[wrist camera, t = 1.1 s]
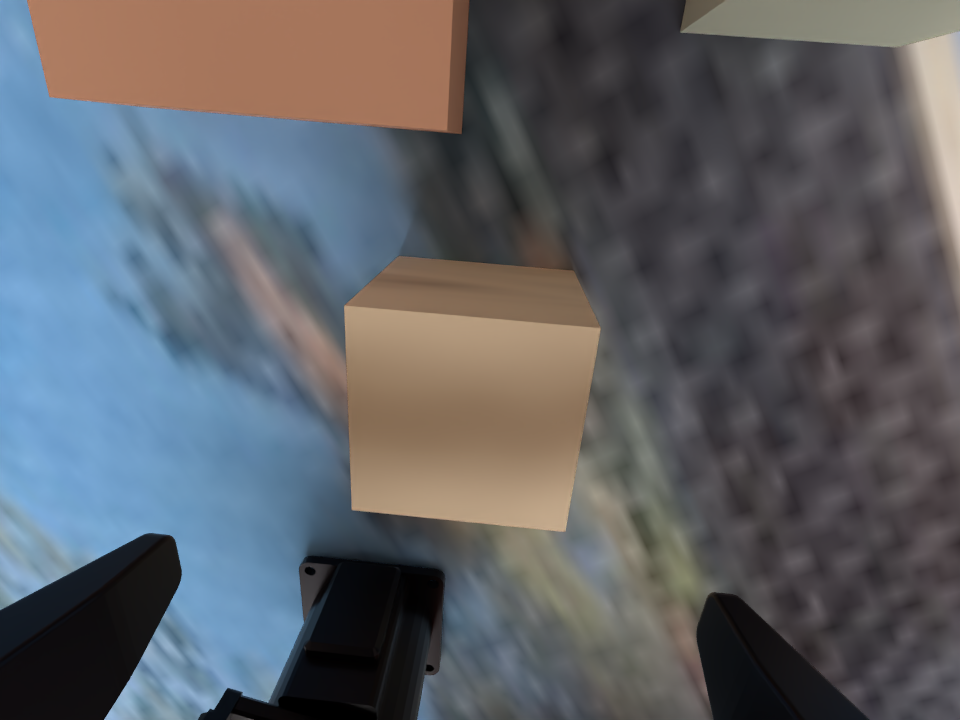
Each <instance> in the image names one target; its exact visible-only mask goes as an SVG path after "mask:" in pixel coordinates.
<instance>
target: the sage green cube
mask: <svg viewBox="0 0 960 720" xmlns="http://www.w3.org/2000/svg"><path fill="white" fill-rule="evenodd" d="M957 31H960V0H686V4H685V9H684V15H683V20H682V25H681V30H680V32H682V33H696V34H710V35H725V36H739V37H754V38H768V39H783V40H797V41H812V42H826V43H841V44H855V45H870V46H884V47H900V46H904V45H908V44H912V43H915V42H919V41H923V40H927V39H931V38H934V37H938V36H942V35H946V34H950V33H954V32H957Z"/></svg>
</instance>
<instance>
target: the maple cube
mask: <svg viewBox="0 0 960 720" xmlns="http://www.w3.org/2000/svg"><path fill="white" fill-rule="evenodd" d="M344 313H345V340H346V367H347V393H348V420H349V447H350V474H351V501H352V510H355V511H365V512H375V513H385V514H395V515H404V516H414V517H424V518H434V519H444V520H453V521H463V522H473V523H483V524H492V525H502V526H512V527H522V528H532V529H541V530H551V531H561V532H565V530H566V524H567V519H568V513H569V507H570V502H571V496H572V490H573V484H574V479H575V473H576V467H577V462H578V456H579V450H580V444H581V439H582V433H583V427H584V422H585V416H586V410H587V404H588V399H589V393H590V387H591V382H592V376H593V370H594V364H595V359H596V353H597V347H598V342H599V336H600V330H601V328H600V325H599V323H598V321H597V319H596V317H595V315H594V313H593V311H592V308H591V306H590V304H589V302H588V300H587V298H586V296H585V294H584V291H583V289H582V287H581V285H580V283H579V281H578V279H577V277H576V274H575V272H574V271H572V270H560V269H548V268H536V267H524V266H512V265H500V264H489V263H477V262H465V261H453V260H441V259H429V258H418V257H406V256H398V257H397V258H396V259H395V260H394V261H392V262H391V263H390V264H389V265H388V266H387V267H386V268H385V269H384V270H383V271H382V272H380V273H379V274H378V275H377V276H376V277H375V278H374V279H373V280H372V281H371V282H369V283H368V284H367V285H366V286H365V287H364V288H363V289H362V290H361V291H360V292H359V293H357V294H356V295H355V296H354V297H353V298H352V299H351V300H350V301H349V302H348V303H347V304H345V305H344Z"/></svg>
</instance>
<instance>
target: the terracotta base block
mask: <svg viewBox="0 0 960 720" xmlns="http://www.w3.org/2000/svg"><path fill="white" fill-rule="evenodd" d="M27 2H28V6H29V11H30V15H31V19H32V23H33V28H34V32H35V36H36V41H37V45H38V49H39V54H40V58H41V62H42V66H43V71H44V75H45V79H46V84H47V88H48V92H49V96H50V97H54V98H63V99H73V100H82V101H92V102H101V103H111V104H120V105H130V106H139V107H149V108H160V109H172V110H184V111H196V112H208V113H219V114H231V115H243V116H255V117H267V118H278V119H290V120H302V121H314V122H325V123H337V124H349V125H361V126H373V127H384V128H396V129H408V130H420V131H432V132H443V133H455V134H462V119H463V102H464V85H465V67H466V50H467V33H468V16H469V0H27Z"/></svg>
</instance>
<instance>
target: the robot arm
mask: <svg viewBox="0 0 960 720" xmlns="http://www.w3.org/2000/svg"><path fill="white" fill-rule="evenodd" d="M311 567H312V568H311ZM313 568H314V569H313ZM181 575H182V570H181V565H180V560H179V555H178V551H177V546H176V542H175V539H174V538H173V537H172V536H170V535H164V534H155V533H148V534H144V535H142V536H140V537H138V538H136V539H134V540H132V541H131V542H129V543H127V544H125V545H123V546H121V547H119V548H117V549H115V550H114V551H112V552H110V553H108V554H106V555H104V556H102V557H100V558H98V559H96V560H95V561H93V562H91V563H89V564H87V565H85V566H83V567H81V568H79V569H78V570H76V571H74V572H72V573H70V574H68V575H66V576H64V577H62V578H60V579H59V580H57V581H55V582H53V583H51V584H49V585H47V586H45V587H43V588H42V589H40V590H38V591H36V592H34V593H32V594H30V595H28V596H26V597H24V598H23V599H21V600H19V601H17V602H15V603H13V604H11V605H9V606H7V607H5V608H4V609H2V610H0V720H104V719H105V717H106V716H107V714H108V713H109V711H110V709H111V708H112V706H113V705H114V703H115V702H116V700H117V698H118V697H119V695H120V694H121V692H122V691H123V689H124V687H125V686H126V684H127V682H128V681H129V679H130V677H131V676H132V674H133V672H134V670H135V668H136V667H137V665H138V663H139V661H140V659H141V657H142V655H143V653H144V652H145V650H146V648H147V646H148V644H149V642H150V640H151V638H152V636H153V634H154V632H155V630H156V629H157V627H158V625H159V623H160V621H161V619H162V617H163V615H164V613H165V611H166V609H167V608H168V606H169V604H170V602H171V600H172V598H173V596H174V594H175V592H176V590H177V588H178V586H179V584H180V581H181ZM299 575H300V585H301V596H302V606H303V617H304V624H303V626H302V629H301V631H300V633H299V635H298V638H297V640H296V642H295V644H294V647H293V649H292V651H291V653H290V656H289V658H288V660H287V662H286V664H285V667H284V669H283V671H282V673H281V676H280V678H279V680H278V682H277V685H276V687H275V689H274V691H273V694H272V696H271V698H270V700H269V703H266V702H263V701H260V700H256V699H253V698H250V697H246V696H243V695H242V693H243V692H240V691H237V690H234V689H230V688H227V690H226V691H225V693H224V695H223V696H222V698H221V700H220V701H219V703H218V704H217V706H216V708H215V709H214V710H212V709H210V710H209V711H208V712H206V713H202V714H201V715H200V717H199V719H198V720H417V717H418V711H419V705H420V700H421V694H422V688H423V682H424V676H425V675H434V674H436V673H437V672H438V671H439V667H440V657H441V640H442V622H443V605H444V587H445V576H444V574H443V572H441V571H440V570H438V569H433V568H424V567H414V566H404V565H395V564H385V563H376V562H366V561H357V560H347V559H338V558H328V557H318V556H308V557H305V558H304V560H303V561H302V563H301V565H300V567H299ZM431 580H435V581H431ZM696 637H697V644H698V649H699V654H700V658H701V663H702V668H703V672H704V677H705V682H706V687H707V691H708V696H709V701H710V705H711V710H712V715H713V719H714V720H870V719H868V718H867V717H866V716H865V715H864V714H863V713H862V712H861V711H860V710H859V709H858V708H857V707H856V706H855V705H854V704H853V703H851V702H850V701H849V700H848V699H847V698H846V697H845V696H844V695H843V694H842V693H841V692H840V691H839V690H838V689H837V688H835V687H834V686H833V685H832V684H831V683H830V682H829V681H828V680H827V679H826V678H825V677H824V676H823V675H822V674H821V673H820V672H818V671H817V670H816V669H815V668H814V667H813V666H812V665H811V664H810V663H809V662H808V661H807V660H806V659H805V658H804V657H803V656H801V655H800V654H799V653H798V652H797V651H796V650H795V649H794V648H793V647H792V646H791V645H790V644H789V643H788V642H787V641H785V640H784V639H783V638H782V637H781V636H780V635H779V634H778V633H777V632H776V631H775V630H774V629H773V628H772V627H771V626H770V625H768V624H767V623H766V622H765V621H764V620H763V619H762V618H761V617H760V616H759V615H758V614H757V613H756V612H755V611H754V610H753V609H751V608H750V607H749V606H748V605H747V604H746V603H745V602H744V601H743V600H742V599H741V598H739V597H738V596H736V595H733V594H725V593H716V592H713V593H710V594H709V595H708V597H707V599H706V602H705V605H704V608H703V611H702V614H701V617H700V620H699V622H698V626H697V632H696Z"/></svg>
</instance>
